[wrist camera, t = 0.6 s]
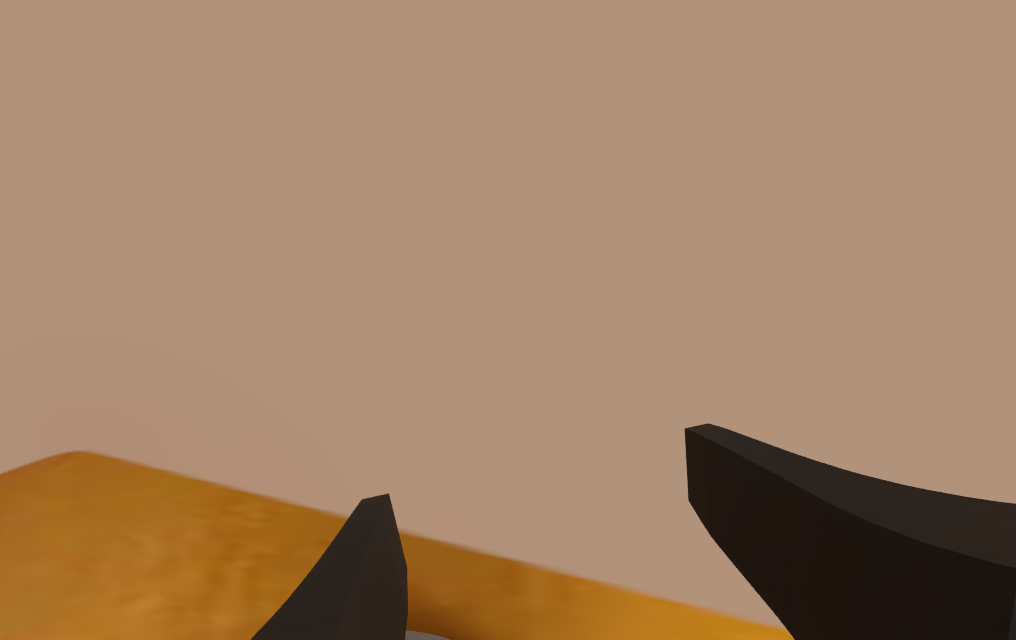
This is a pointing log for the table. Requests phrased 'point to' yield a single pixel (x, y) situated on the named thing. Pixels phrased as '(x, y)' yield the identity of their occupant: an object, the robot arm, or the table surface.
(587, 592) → the table surface
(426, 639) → the turntable
